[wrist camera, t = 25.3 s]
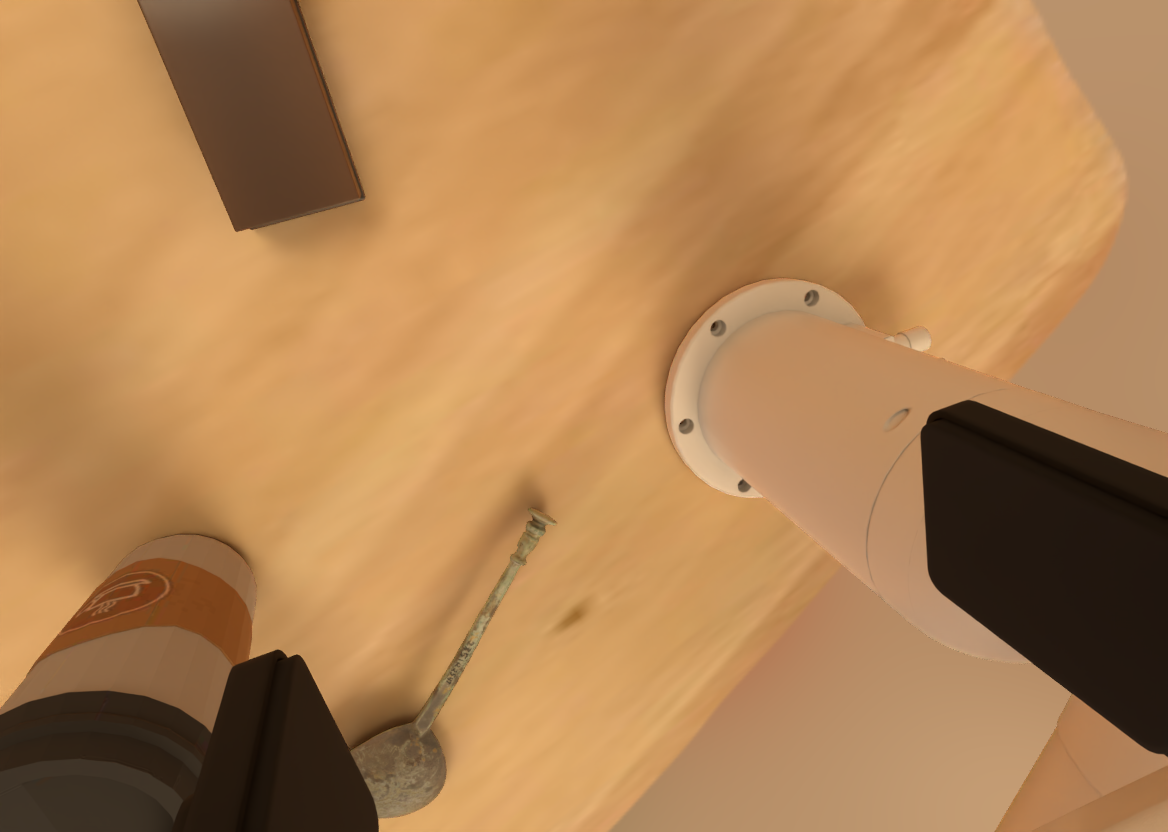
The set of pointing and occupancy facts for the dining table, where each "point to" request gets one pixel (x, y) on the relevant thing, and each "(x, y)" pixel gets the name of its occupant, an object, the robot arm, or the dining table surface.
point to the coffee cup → (128, 694)
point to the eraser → (256, 106)
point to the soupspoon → (431, 714)
